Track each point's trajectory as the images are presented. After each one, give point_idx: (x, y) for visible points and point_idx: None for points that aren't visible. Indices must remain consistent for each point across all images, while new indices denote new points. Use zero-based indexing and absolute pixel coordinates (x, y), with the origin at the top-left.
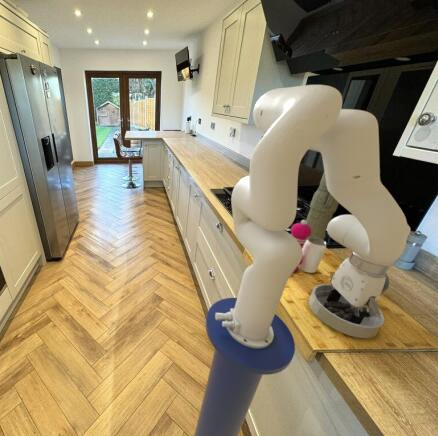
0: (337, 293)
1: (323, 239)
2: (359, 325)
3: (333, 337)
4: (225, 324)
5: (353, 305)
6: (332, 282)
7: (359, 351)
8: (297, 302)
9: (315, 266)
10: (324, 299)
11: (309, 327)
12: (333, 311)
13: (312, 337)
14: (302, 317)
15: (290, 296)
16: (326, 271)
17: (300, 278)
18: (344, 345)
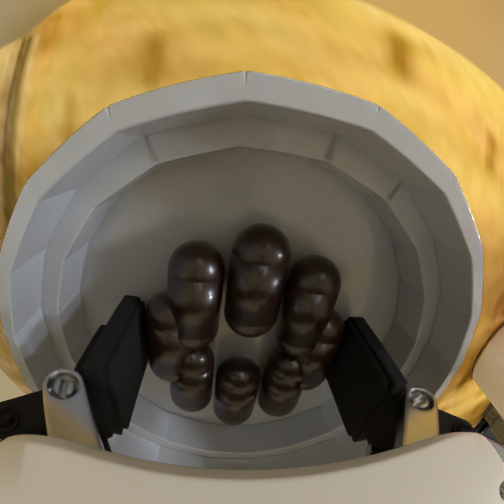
0: (364, 412)
1: (497, 437)
2: (5, 309)
3: (68, 126)
4: None
5: (20, 437)
6: (482, 452)
7: (8, 217)
8: (392, 98)
9: (497, 382)
10: (371, 313)
11: (159, 13)
12: (233, 272)
13: (96, 2)
14: (250, 17)
15: (438, 102)
16: (448, 406)
17: (493, 289)
18: (27, 159)
